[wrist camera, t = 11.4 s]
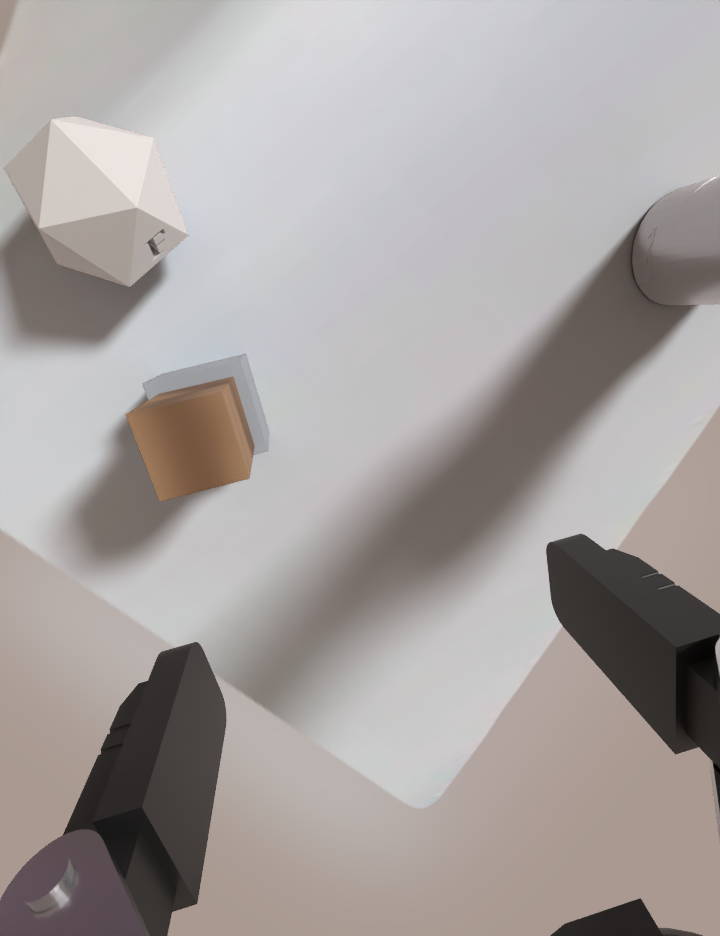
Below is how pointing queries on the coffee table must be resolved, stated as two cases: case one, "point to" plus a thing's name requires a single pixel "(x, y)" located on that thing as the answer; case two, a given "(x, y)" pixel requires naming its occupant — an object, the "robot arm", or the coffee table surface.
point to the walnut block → (194, 438)
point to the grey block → (217, 371)
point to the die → (98, 198)
